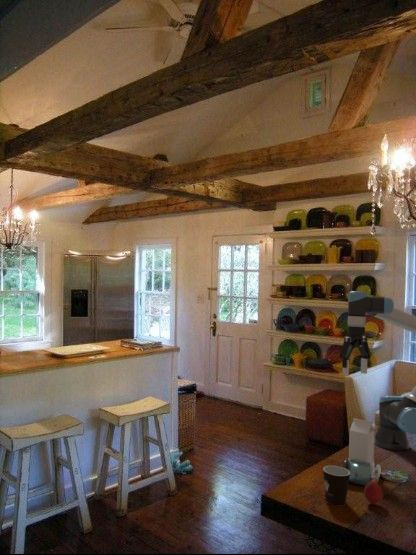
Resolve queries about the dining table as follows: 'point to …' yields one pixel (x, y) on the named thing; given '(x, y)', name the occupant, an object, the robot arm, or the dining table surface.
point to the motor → (362, 471)
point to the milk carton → (361, 441)
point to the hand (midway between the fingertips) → (354, 374)
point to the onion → (373, 492)
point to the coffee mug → (336, 484)
